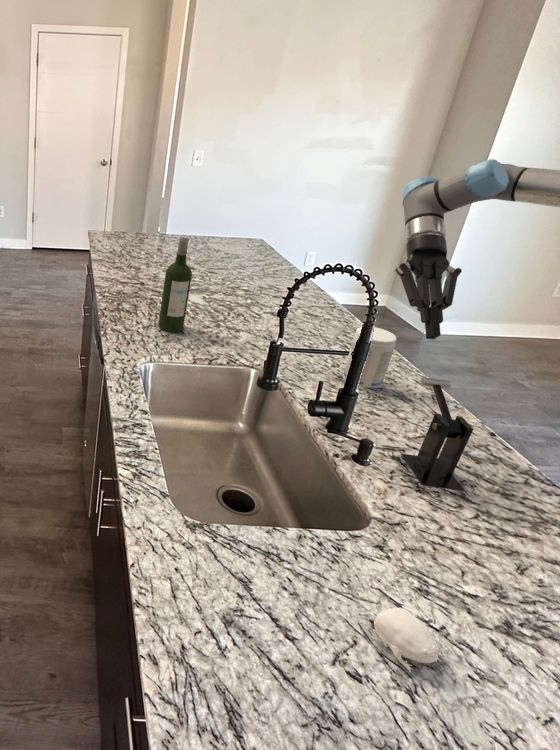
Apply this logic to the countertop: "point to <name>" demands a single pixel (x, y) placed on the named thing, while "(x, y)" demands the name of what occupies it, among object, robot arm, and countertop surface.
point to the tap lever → (443, 403)
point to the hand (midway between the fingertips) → (433, 336)
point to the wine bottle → (176, 291)
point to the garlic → (406, 636)
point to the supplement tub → (374, 357)
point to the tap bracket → (440, 468)
